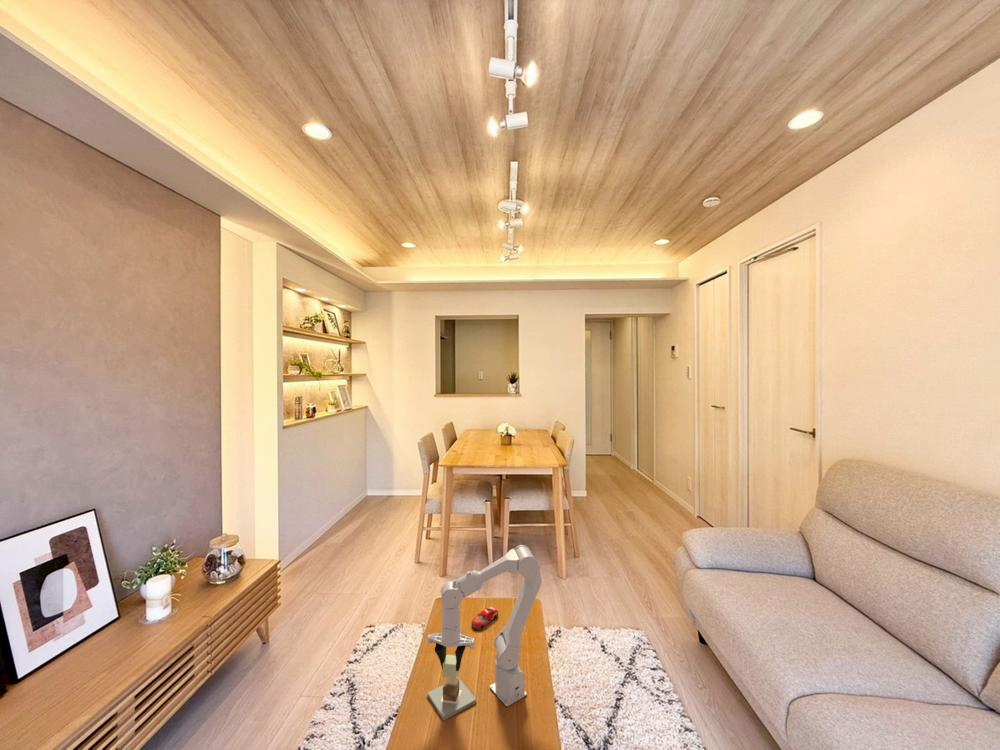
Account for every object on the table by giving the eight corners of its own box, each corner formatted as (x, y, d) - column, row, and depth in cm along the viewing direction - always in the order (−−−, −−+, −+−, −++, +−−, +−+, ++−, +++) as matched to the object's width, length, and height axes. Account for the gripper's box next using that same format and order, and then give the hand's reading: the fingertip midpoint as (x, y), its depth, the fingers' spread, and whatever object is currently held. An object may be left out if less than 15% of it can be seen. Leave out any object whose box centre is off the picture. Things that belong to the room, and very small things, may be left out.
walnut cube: (459, 691, 123) (459, 678, 123) (455, 701, 119) (455, 688, 119) (446, 689, 124) (446, 676, 124) (442, 699, 120) (442, 686, 120)
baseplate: (476, 702, 120) (475, 699, 120) (443, 720, 114) (443, 716, 114) (458, 680, 129) (458, 676, 129) (427, 696, 123) (427, 692, 123)
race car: (478, 633, 154) (478, 622, 154) (468, 627, 157) (468, 617, 157) (500, 617, 164) (500, 607, 164) (490, 612, 167) (490, 602, 167)
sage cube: (459, 668, 123) (459, 655, 123) (455, 678, 119) (455, 664, 119) (446, 667, 124) (446, 654, 124) (442, 676, 120) (442, 663, 120)
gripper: (476, 618, 125) (476, 661, 124) (433, 613, 127) (433, 656, 127) (471, 632, 118) (471, 678, 117) (425, 627, 120) (425, 672, 120)
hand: (451, 668), depth 122 cm, fingers closed on sage cube, 4 cm apart
